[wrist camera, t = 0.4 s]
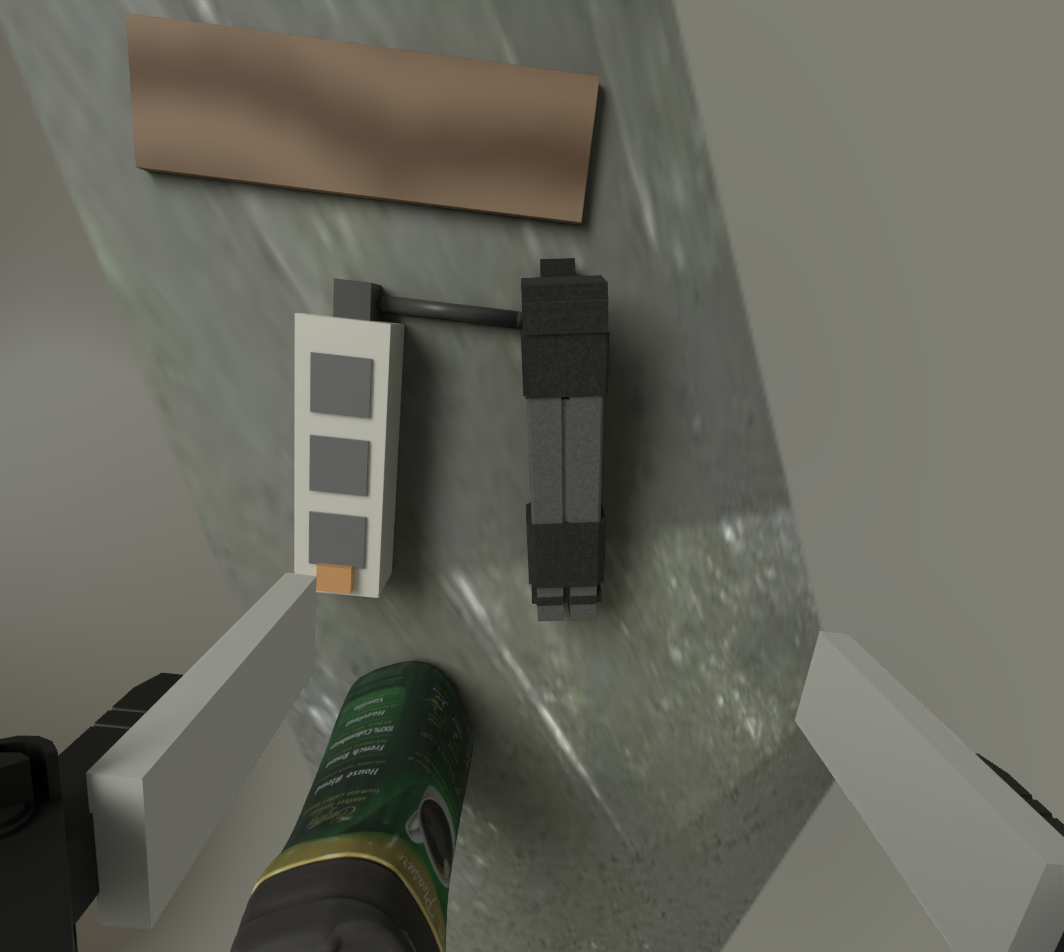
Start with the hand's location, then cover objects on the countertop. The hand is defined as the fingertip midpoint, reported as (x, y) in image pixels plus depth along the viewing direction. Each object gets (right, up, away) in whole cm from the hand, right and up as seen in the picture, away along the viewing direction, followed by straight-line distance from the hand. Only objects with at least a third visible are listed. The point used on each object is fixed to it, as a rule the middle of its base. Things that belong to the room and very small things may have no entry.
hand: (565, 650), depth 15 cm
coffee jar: (-9, -13, +26) cm, 30 cm away
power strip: (-8, +7, +20) cm, 23 cm away
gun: (+1, +7, +21) cm, 22 cm away
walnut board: (-10, +23, +16) cm, 30 cm away
